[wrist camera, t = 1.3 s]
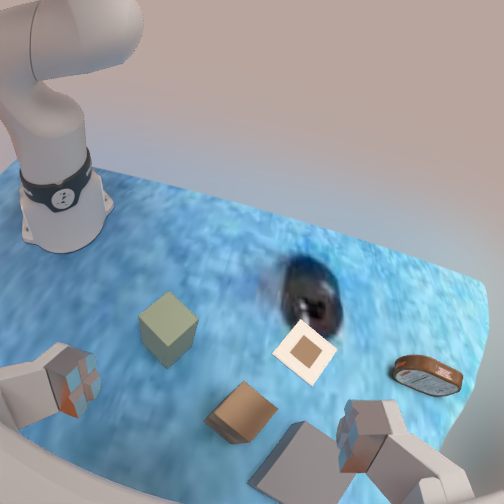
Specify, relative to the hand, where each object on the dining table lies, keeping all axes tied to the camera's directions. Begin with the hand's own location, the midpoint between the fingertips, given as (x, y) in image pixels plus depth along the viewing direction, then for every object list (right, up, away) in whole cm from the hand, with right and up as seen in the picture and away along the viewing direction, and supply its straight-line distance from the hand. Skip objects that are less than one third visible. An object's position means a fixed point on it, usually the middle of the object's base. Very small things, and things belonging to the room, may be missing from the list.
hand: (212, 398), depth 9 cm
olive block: (-11, -9, +34) cm, 36 cm away
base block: (+8, -27, +27) cm, 39 cm away
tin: (+31, -20, +39) cm, 54 cm away
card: (+10, -11, +38) cm, 41 cm away
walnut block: (-2, -18, +29) cm, 35 cm away
